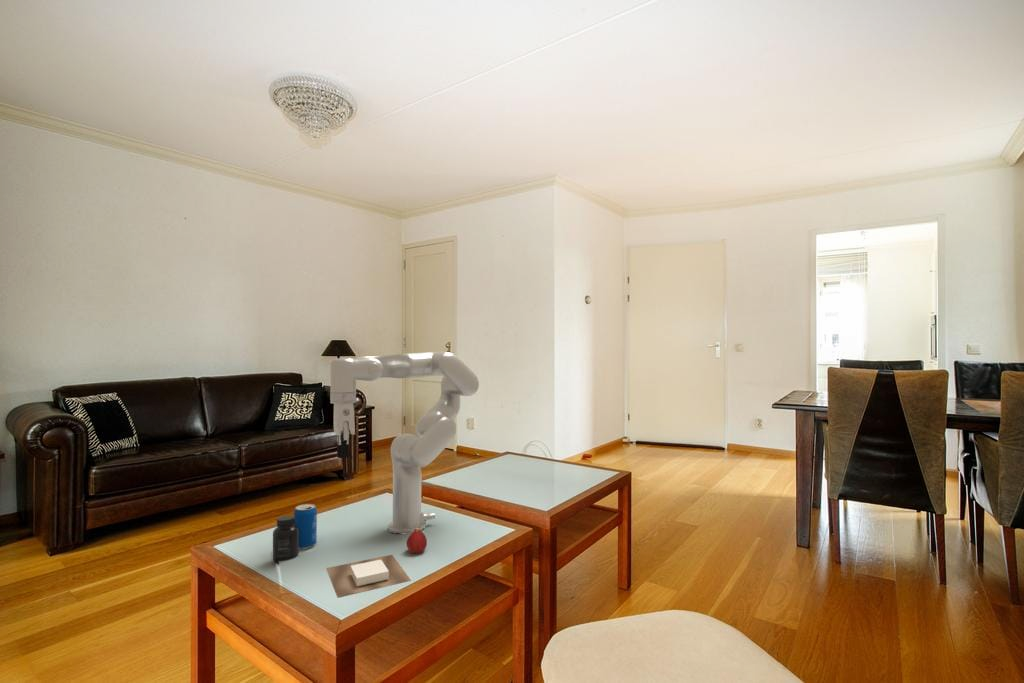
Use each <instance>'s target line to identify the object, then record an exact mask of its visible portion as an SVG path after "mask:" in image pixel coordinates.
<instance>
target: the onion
mask: <svg viewBox="0 0 1024 683" xmlns="http://www.w3.org/2000/svg"><path fill="white" fill-rule="evenodd" d="M427 545H428V541H427V536H426V535H425V533H424V532H423V531H422V530H421V531H420V530H419V529H418V528H416V529H415V531H414V532H412V533H409V536H408V538H407V539H406V546H407V549H408V551H409V552H410V553H412V554H420V553H423V552H424V551H425V550H426V548H427Z"/></svg>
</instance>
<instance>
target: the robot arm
mask: <svg viewBox="0 0 1024 683" xmlns="http://www.w3.org/2000/svg"><path fill="white" fill-rule="evenodd" d="M432 376H433V377H434V376H436V377H437V376H441V377H442V378H441V381H440V389H441V390H440V397H439V399H438V401H436V403H435V404H434V405H433V406H432V407H431V408H430V409H429V410H428V411H426V413H424V414H423V415H422V417H420V419H418V420H417V423H416V424H415V433H416V434H417V435H416V434H412V433H401V434H399V435H397V436H396V437H394V439H393V440H392V442H391V445H390V459H391V462H392V521H391V522H389V523H388V525H387V530H388V532H390V533H392V532H393V534H396V533H406V534H411V533H412V532H414V531H415V529H416V528H418V529H419V530H421V529H423V528H424V527H425V526H427V522H426V521H427V520H435V519H436V514H435V512H433V513H430V512H423V511H422V478H423V477H422V476H423V475H422V468H423V467H426V466H428V465H429V464H431V463H432V462H433V461H434V460H436V458H437V457H438V456H439V455H440V454H441V453H442V452H444V450H445V449H446V448H447V447H448V446H449V445H450V444H451V443H452V441H453V439H454V438H455V435H456V432H457V425H456V422H455V421H454V419H455V418H456V416H458V414H459V412H460V409H461V397H462V396H463V397H471V396H474V395H475V394H476V393H477V392H478V390H479V387H480V381H479V378H478V377H477V375H476V373H475V372H474V371H473V370H472V369H471V368H469V367H468V365H466V364H465V363H464V361H462V360H461V359H460V358H459V357H458V356H457V355H456V354H454V353H452V352H450V351H427V352H426V351H425V352H410V353H409V352H407V353H406V352H405V353H395V354H390V355H389V354H388V355H387V354H386V355H374V356H372V355H371V356H358V357H354V358H349V357H341V358H340V357H339V358H336V357H335V358H333V359H331V361H330V385H329V386H330V387H329V388H330V391H329V392H330V393H329V394H330V396H329V398H330V399H329V400H330V402H329V403H330V404H333V432H334V433H335V434H336V436H337V437H336V440H337V441H336V442H337V443H336V458H338V459H344V458H349V457H350V456H349V454H350V452H349V451H350V450H349V449H350V447H349V446H350V445H349V443H350V441H349V440H350V439H349V438H350V435H351V436H354V435H355V434H356V428H355V424H356V423H355V422H356V421H355V407H354V403H356V402H357V381H366V382H372V381H373V382H374V381H376V380H378V379H380V378H381V379H382V378H392V379H415V378H423V377H432ZM425 528H426V527H425ZM425 528H424V529H425ZM424 529H423V530H424ZM421 531H422V530H421Z"/></svg>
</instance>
